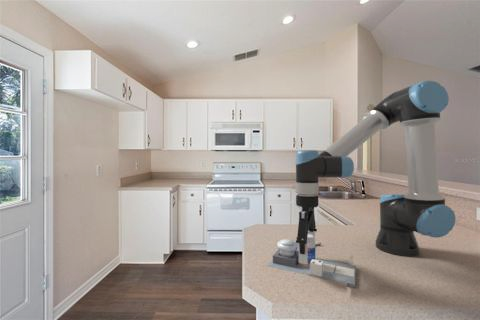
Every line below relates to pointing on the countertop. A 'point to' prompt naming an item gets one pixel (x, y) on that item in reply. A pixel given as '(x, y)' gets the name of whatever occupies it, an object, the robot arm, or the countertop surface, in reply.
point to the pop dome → (287, 247)
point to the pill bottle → (310, 249)
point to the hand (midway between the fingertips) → (307, 255)
